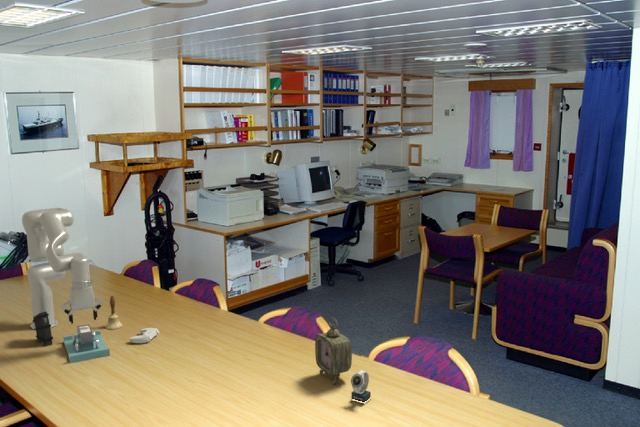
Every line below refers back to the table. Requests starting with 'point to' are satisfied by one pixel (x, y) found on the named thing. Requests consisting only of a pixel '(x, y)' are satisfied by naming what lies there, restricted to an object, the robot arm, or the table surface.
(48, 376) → the table surface
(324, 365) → the tabletop clock
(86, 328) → the block
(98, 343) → the pin tray
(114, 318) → the hand bell
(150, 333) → the game controller
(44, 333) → the black stepped block
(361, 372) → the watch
